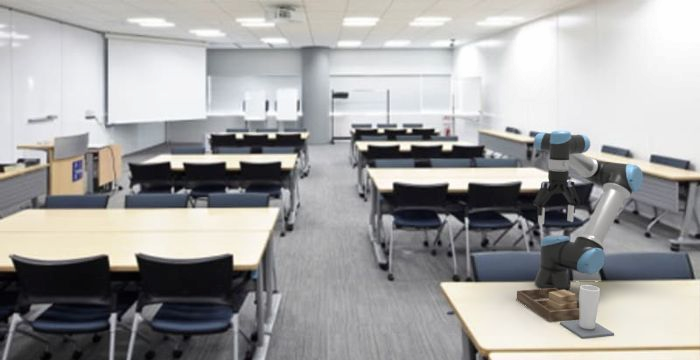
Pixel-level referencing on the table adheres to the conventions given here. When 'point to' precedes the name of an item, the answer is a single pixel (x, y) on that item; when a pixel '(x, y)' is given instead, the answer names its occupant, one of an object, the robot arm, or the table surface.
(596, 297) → the drinking glass
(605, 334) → the mat
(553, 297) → the offcut top
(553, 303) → the offcut middle
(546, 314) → the tray
